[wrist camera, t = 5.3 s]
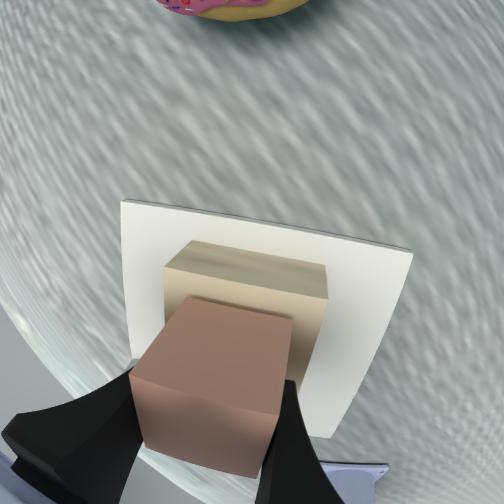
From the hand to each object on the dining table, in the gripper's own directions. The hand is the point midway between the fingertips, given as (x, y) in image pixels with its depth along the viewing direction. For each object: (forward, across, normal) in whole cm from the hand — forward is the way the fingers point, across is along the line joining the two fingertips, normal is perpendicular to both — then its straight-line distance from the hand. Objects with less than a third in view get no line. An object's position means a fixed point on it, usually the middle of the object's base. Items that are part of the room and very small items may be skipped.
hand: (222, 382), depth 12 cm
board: (+6, 0, +3) cm, 7 cm away
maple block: (+6, 0, 0) cm, 6 cm away
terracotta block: (+2, 0, 0) cm, 2 cm away
